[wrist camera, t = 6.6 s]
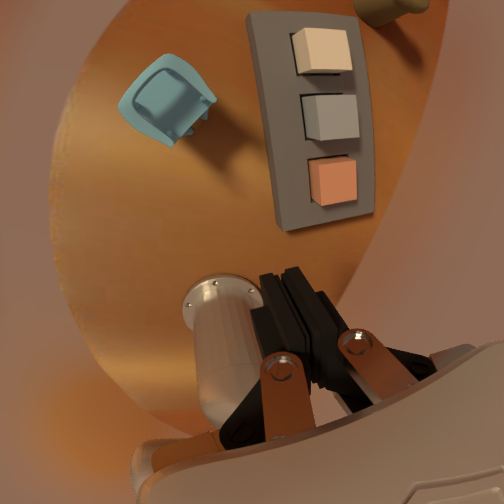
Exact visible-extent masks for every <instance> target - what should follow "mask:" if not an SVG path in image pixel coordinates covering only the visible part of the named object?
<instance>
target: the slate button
mask: <svg viewBox="0 0 504 504" xmlns="http://www.w3.org/2000/svg"><path fill="white" fill-rule="evenodd" d="M302 103H303V111H304V119H305V127H306V136H307V137H308V138H312V139H316V140H320V141H322V140H332V139H343V138H356V137H360V135H359V122H358V111H357V101H356V95H318V96H308V97H302Z"/></svg>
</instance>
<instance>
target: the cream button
mask: <svg viewBox="0 0 504 504" xmlns="http://www.w3.org/2000/svg"><path fill="white" fill-rule="evenodd" d="M292 40H293V46H294V51H295V57H296V63H297V69H298V74H302V73H340V72H345V71H350V70H352V63H351V57H350V51H349V45H348V40H347V35H346V31H345V30H335V29H322V28H303V29H302V30H300V31H299V32H297V33H296V34H294V35H293V36H292Z"/></svg>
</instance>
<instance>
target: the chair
mask: <svg viewBox="0 0 504 504" xmlns="http://www.w3.org/2000/svg"><path fill="white" fill-rule="evenodd" d="M216 101H217V98H216V97H215V95H214V94H213V93H212V92H211V90H210V89H209V88H208V86H207V85H206V83H205V82H204V80H203V79H202V77H201V76H200V75H199V73H198V72H197V71H196V70H195V69H194V68H193V67H192V66H191V65H190V64H188V63H187V62H186V61H184V60H183V59H181V58H179V57H177V56H175V55H173V54H165V55H163V56H161V57H160V58H159V59H157V60H156V61H155V62H154V63H152V64H151V65H150V66H149V67H148V68H147V69H146V70H145V71H144V72H143V73H142V74H141V75H140V76H139V77H138V78H137V79H136V80H135V81H134V82H133V84H132V85H131V86H130V87H129V89H128V90H127V91H126V93H125V94H124V96H123V97H122V99H121V100H120V102H119V104H118V110H119V112H120V114H121V115H122V116H123V118H124V119H125V120H126V121H127V122H128V123H129V124H130V125H131V126H132V127H133V128H135V129H136V130H138V131H139V132H141V133H143V134H145V135H147V136H149V137H151V138H153V139H156V140H158V141H160V142H162V143H163V144H165V145H167V146H169V147H173V146H174V144H175V143H176V142H177V140H178V139H179V138H180V137H181V136H188V135H189V136H190V135H192V134H193V132H194V131H193V129H192V128H190V126H191V125H192V124H193V123H194V122H195V121H196V120H197V119H198V118H199V117H200V118H201V119H202V120H207V119H208V108H209V107H210V106H211V105H212V104H213V103H215V102H216Z"/></svg>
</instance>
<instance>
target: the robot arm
mask: <svg viewBox="0 0 504 504" xmlns="http://www.w3.org/2000/svg"><path fill="white" fill-rule="evenodd" d="M259 278H260V285H261V291H262V296H261V294H260V292H259V290H258V289H257V287H256V286H255V285H254V284H253V283H251V282H250V281H249V280H247V279H245V278H243V277H240V276H237V275H230V274H220V275H214V276H210V277H208V278H205V279H203V280H201V281H199V282H197V283H196V284H195V285H194V286H193V287H191V289H190V290H189V291H188V292H187V294H186V296H185V298H184V300H183V305H182V313H183V319H184V321H185V323H186V325H187V326H188V328H189V329H190V330H191V331H193V334H194V350H195V364H196V377H197V388H198V398H199V404H200V407H201V409H202V412H203V413H204V415H205V417H206V418H207V419H208V420H209V422H210V423H211V424H212V425H213V426H214V427H215V428H216V429H217V430H215V431H213V432H210V431H207V432H204V433H201V434H198V435H196V436H193V437H190V438H173V439H154V440H149V441H146V442H143V443H141V444H140V445H138V446H137V448H136V449H135V450H134V452H133V454H132V457H131V461H130V475H131V481H132V486H133V489H134V492H135V495H136V498H137V499H136V504H504V341H495V342H490V343H487V344H484V345H482V346H479V347H477V348H476V347H474V346H473V345H470V344H462V345H459V346H456V347H453V348H450V349H447V350H443V351H440V352H437V353H433V354H430V355H429V357H425V356H422V355H418V354H413V353H409V352H405V351H400V350H396V349H392V348H388V347H385V346H384V345H383V344H382V343H381V342H380V341H379V340H378V339H377V338H376V337H375V336H374V335H373V334H372V333H370V332H369V331H366V330H364V329H351V330H350V329H349V328H348V326H347V325H346V323H345V322H344V320H343V319H342V317H341V316H340V315H339V313H338V311H337V310H336V309H335V307H334V306H333V304H332V303H331V301H330V300H329V298H328V297H327V295H326V294H325V293H324V292H323V291H319V292H314V290H313V289H312V287H311V285H310V284H309V282H308V281H307V279H306V278H305V276H304V275H303V273H302V272H301V270H300V269H299V267H293V268H289V269H285V273H283V274H281V280H280V278H279V276H278V275H273V273H268V274H264V275H260V276H259ZM281 281H282V282H281ZM262 297H263V300H262ZM263 303H264V306H263ZM311 381H312V383H317V384H318V386H319V388H320V389H321V388H324V387H325V388H326V389H327V390H330V391H333V395H334V397H335V398H336V400H337V401H338V403H339V404H340V405H341V407H342V408H343V410H344V411H345V412H346V414H347V415H348V416H346V417H343V418H341V419H338V420H335V421H333V422H330V423H327V424H325V425H322V426H319V427H316V424H315V419H314V415H313V410H312V405H311V401H310V395H311Z"/></svg>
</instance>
